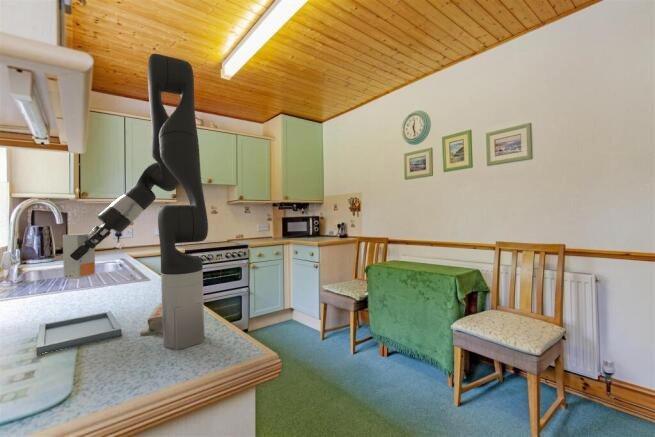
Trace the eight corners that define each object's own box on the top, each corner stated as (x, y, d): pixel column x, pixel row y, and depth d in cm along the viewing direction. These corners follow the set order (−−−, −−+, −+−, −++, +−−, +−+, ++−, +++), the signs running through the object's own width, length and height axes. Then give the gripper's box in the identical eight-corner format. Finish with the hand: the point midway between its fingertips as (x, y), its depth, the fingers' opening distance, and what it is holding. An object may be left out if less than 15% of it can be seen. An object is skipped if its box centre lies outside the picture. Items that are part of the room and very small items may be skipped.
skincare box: (79, 279, 83) (77, 234, 83) (63, 279, 83) (61, 234, 83) (96, 274, 89) (94, 233, 89) (81, 275, 89) (80, 233, 89)
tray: (121, 335, 80) (121, 328, 80) (36, 355, 70) (36, 347, 70) (110, 316, 95) (110, 311, 95) (39, 330, 85) (39, 324, 85)
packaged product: (181, 314, 83) (139, 319, 80) (182, 332, 83) (139, 338, 80) (187, 297, 100) (153, 300, 97) (188, 311, 100) (153, 316, 97)
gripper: (107, 206, 96) (58, 247, 88) (113, 203, 85) (59, 250, 78) (128, 222, 100) (83, 263, 92) (137, 222, 89) (87, 268, 81)
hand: (72, 257), depth 85 cm, fingers closed on skincare box, 7 cm apart
